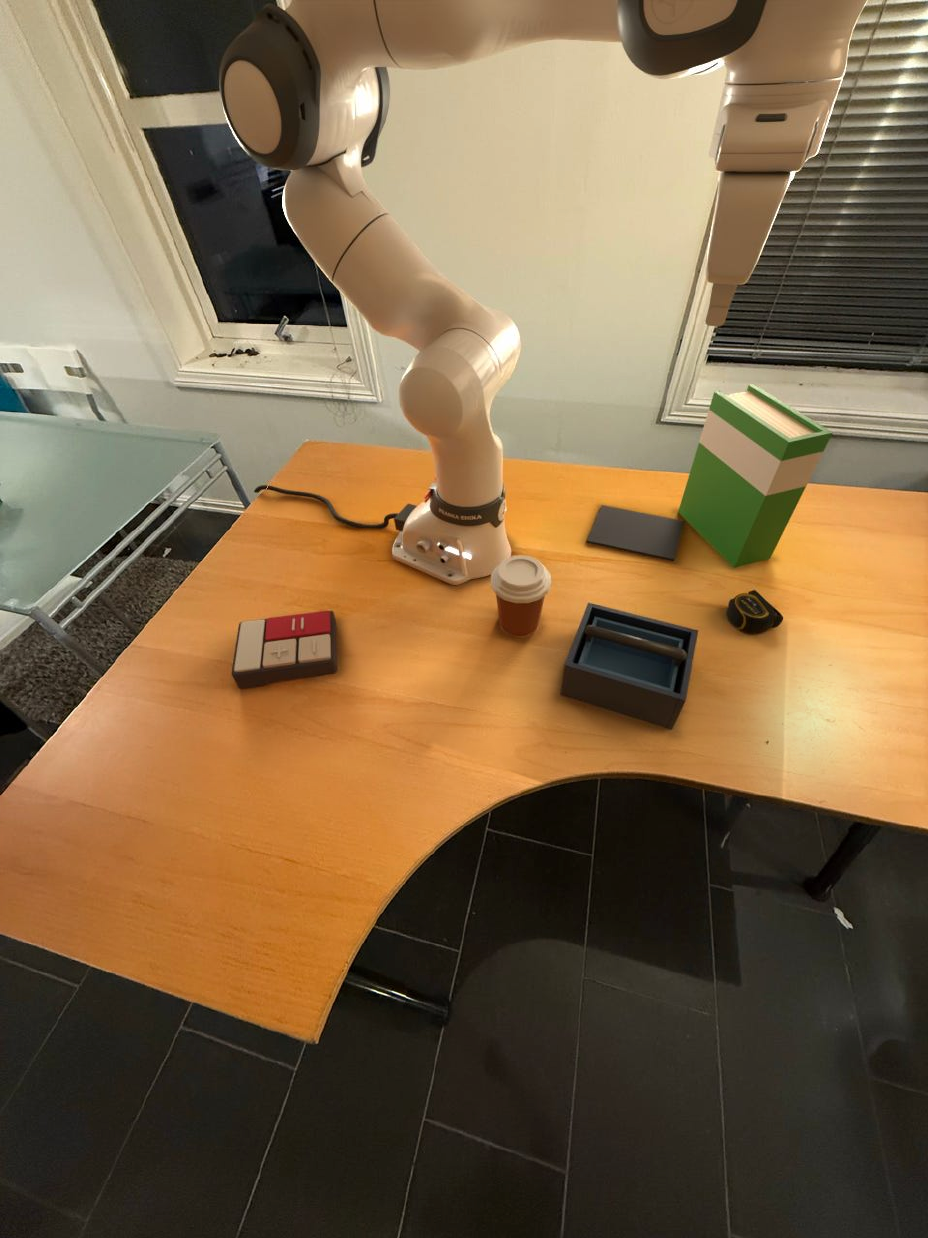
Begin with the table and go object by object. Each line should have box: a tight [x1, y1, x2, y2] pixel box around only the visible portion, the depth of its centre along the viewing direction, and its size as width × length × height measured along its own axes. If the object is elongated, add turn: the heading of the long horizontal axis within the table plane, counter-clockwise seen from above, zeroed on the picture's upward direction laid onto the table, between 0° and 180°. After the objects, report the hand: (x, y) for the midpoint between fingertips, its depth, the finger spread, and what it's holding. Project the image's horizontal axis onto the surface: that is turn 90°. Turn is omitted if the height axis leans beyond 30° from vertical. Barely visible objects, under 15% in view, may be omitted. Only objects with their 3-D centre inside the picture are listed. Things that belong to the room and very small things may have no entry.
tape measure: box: [725, 589, 784, 635], centre depth 82 cm, size 7×7×4 cm
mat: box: [586, 504, 685, 563], centre depth 100 cm, size 16×12×1 cm
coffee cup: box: [490, 554, 552, 638], centre depth 81 cm, size 9×9×12 cm
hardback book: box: [677, 383, 834, 569], centre depth 90 cm, size 18×7×24 cm, turn 17°
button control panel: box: [231, 610, 338, 690], centre depth 83 cm, size 11×4×15 cm
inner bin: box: [578, 617, 687, 692], centre depth 74 cm, size 14×10×9 cm
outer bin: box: [559, 602, 699, 731], centre depth 75 cm, size 16×13×8 cm
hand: (718, 307), depth 55 cm, fingers open, 8 cm apart
